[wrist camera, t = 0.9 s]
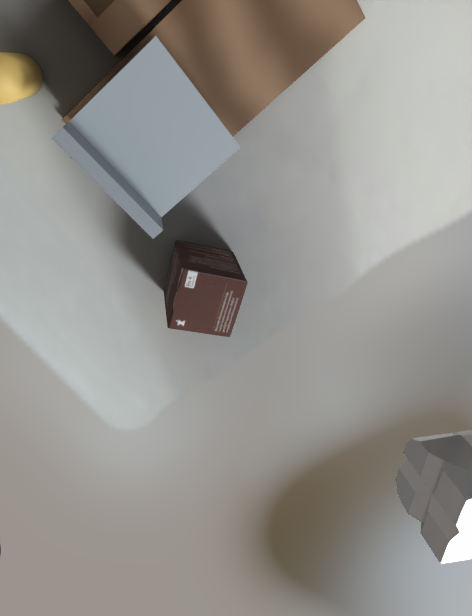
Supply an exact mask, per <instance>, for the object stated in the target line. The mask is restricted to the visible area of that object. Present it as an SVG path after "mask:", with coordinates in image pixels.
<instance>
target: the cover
mask: <svg viewBox="0 0 472 616" xmlns="http://www.w3.org/2000/svg"><path fill="white" fill-rule="evenodd" d="M52 139H53V140H54V141H55V142H56V143H57V144H58V145H59V146H60V147H61V148H62V149H63V150H64V151H65V152H66V153H67V154H68V155H69V156H70V157H71V158H72V159H73V160H74V161H75V162H76V163H77V164H78V165H79V166H80V167H81V168H82V169H83V170H84V171H85V172H86V173H87V174H88V175H89V176H90V177H91V178H92V179H93V180H94V181H95V182H96V183H97V184H98V185H99V186H100V187H101V188H102V189H103V190H104V191H105V192H106V193H107V194H108V195H109V196H110V197H111V198H112V199H113V200H114V201H115V202H116V203H117V204H118V205H119V206H120V207H121V208H122V209H123V210H124V211H125V212H126V213H127V214H128V215H129V216H130V217H131V218H132V219H133V220H134V221H135V222H136V223H137V224H138V225H139V226H140V227H141V228H142V229H143V230H144V231H145V232H146V233H147V234H148V235H149V236H150V237H151V238H152V239H154V238H155V237H156V236H157V235H158V234H160V233H161V232H162V231H163V225H162V218H161V217H163V216H164V215H165V214H166V213H167V212H168V211H169V210H170V209H172V208H173V207H174V206H175V205H176V204H177V203H178V202H179V201H181V200H182V199H183V198H184V197H185V196H186V195H187V194H189V193H190V192H191V191H192V190H193V189H194V188H195V187H196V186H198V185H199V184H200V183H201V182H202V181H203V180H204V179H205V178H207V177H208V176H209V175H210V174H211V173H212V172H213V171H215V170H216V169H217V168H218V167H219V166H220V165H221V164H222V163H224V162H225V161H226V160H227V159H228V158H229V157H230V156H231V155H233V154H234V153H235V152H236V151H237V150H238V149H239V148H241V147H240V146H239V145H238V143H237V142H236V141H235V139H234V138H233V137H232V135H231V134H230V133H229V131H228V130H227V129H226V127H225V126H224V125H223V123H222V122H221V121H220V119H219V118H218V117H217V116H216V114H215V113H214V112H213V110H212V109H211V108H210V106H209V105H208V104H207V102H206V101H205V100H204V98H203V97H202V96H201V94H200V93H199V92H198V90H197V89H196V88H195V87H194V85H193V84H192V83H191V81H190V80H189V79H188V77H187V76H186V75H185V73H184V72H183V71H182V69H181V68H180V67H179V65H178V64H177V63H176V61H175V60H174V59H173V58H172V56H171V55H170V54H169V52H168V51H167V50H166V48H165V47H164V46H163V44H162V43H161V42H160V40H159V39H158V38H157V36H155V37H154V38H153V39H152V40H151V41H150V42H149V43H148V44H147V45H146V46H145V47H144V48H143V49H142V50H141V51H140V52H139V53H138V54H137V55H136V56H135V57H134V58H133V59H132V60H131V61H130V62H129V63H128V64H127V65H126V66H125V67H124V68H123V69H122V70H121V71H120V72H119V73H118V74H117V75H116V76H115V77H114V78H113V79H112V80H111V81H110V82H109V83H108V84H107V85H106V86H105V87H104V88H103V89H102V90H101V91H100V92H98V93H97V94H96V95H95V96H94V97H93V98H92V99H91V100H90V101H89V102H88V103H87V104H86V105H85V106H84V107H83V108H82V109H81V110H80V111H79V112H78V113H77V114H76V115H75V116H74V117H73V118H72V119H71V120H70V121H69V122H68V123H67V124H66V125H65V126H64V127H62V128H61V129H60V130H59V131H58V132H57V133H56V134H55V135H54V136H53V137H52Z"/></svg>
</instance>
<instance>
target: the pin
mask: <svg viewBox="0 0 472 616" xmlns="http://www.w3.org/2000/svg"><path fill="white" fill-rule="evenodd" d="M42 81H43V78H42V73H41V70H40V68H39V66H38V65H37V63H36V62H35V61H34V60H33V59H32V58H30V57H29V56H27V55H25V54H21V53H7V52H0V104H2V105H4V104H9V103H12V102H15V101H18V100H21V99H24V98H27V97H30V96H33V95H35V94H36V93H37V92H38V91H39V90H40V88H41V86H42Z"/></svg>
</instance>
